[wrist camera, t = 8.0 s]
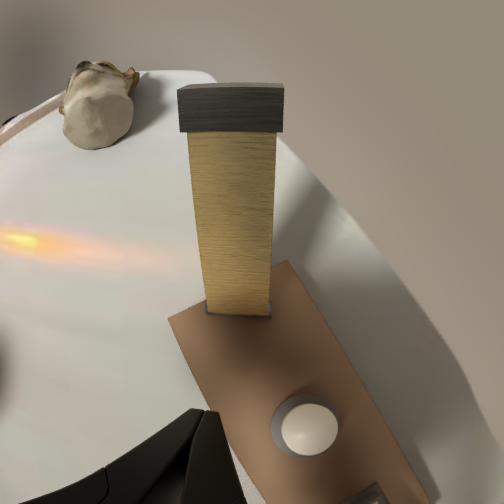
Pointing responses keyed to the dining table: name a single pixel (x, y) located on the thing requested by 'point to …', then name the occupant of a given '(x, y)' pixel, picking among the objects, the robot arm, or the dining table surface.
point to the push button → (309, 429)
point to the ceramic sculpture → (98, 104)
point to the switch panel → (293, 400)
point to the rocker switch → (373, 499)
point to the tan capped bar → (233, 189)
